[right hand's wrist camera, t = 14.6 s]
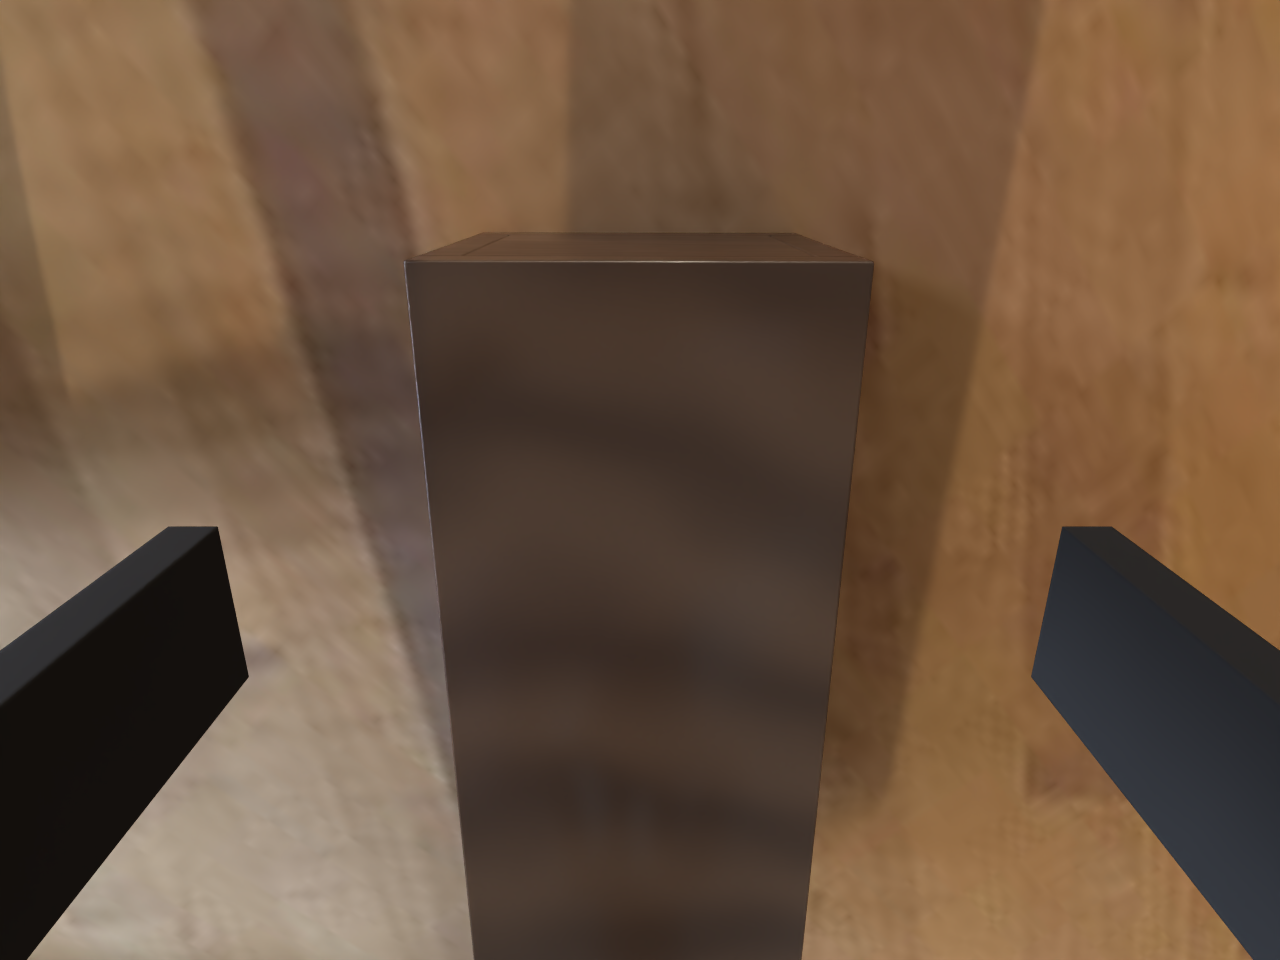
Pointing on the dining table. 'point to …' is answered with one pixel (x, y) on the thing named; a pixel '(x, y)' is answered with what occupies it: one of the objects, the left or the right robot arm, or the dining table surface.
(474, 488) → the cabinet
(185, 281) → the dining table surface
